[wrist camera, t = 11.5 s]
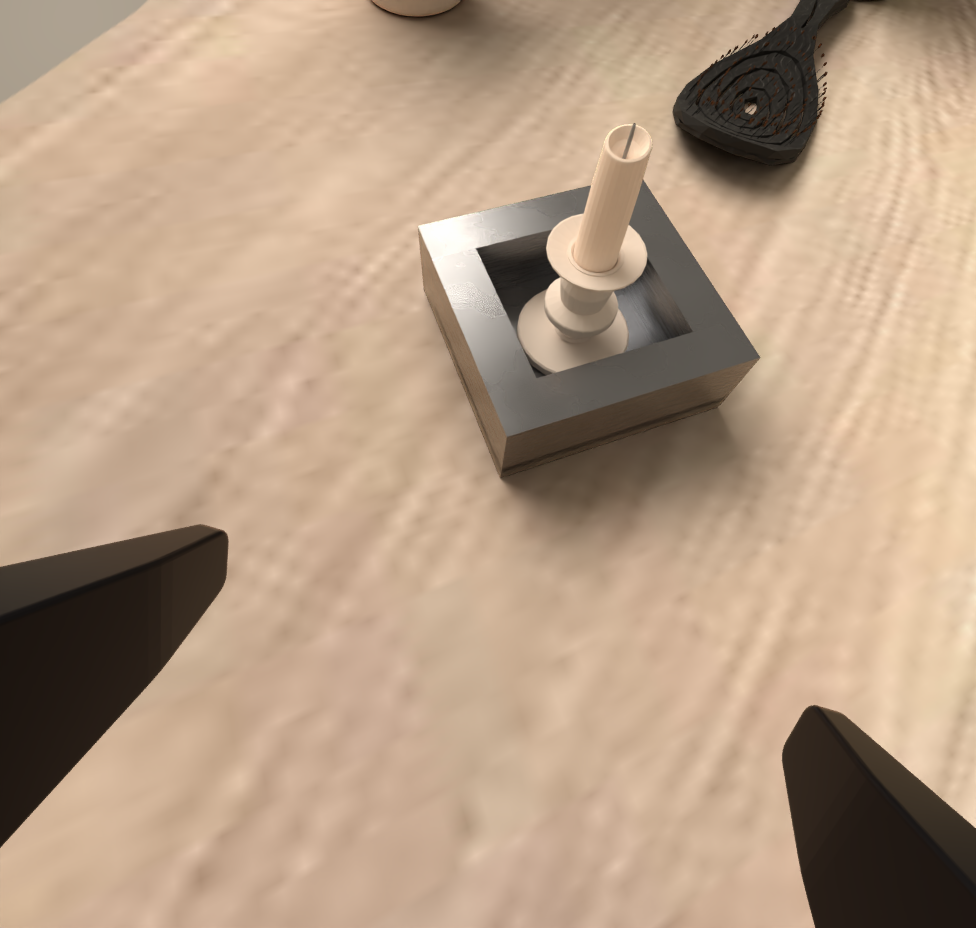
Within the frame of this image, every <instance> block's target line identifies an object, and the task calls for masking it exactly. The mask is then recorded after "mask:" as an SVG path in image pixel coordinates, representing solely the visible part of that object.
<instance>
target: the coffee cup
mask: <svg viewBox="0 0 976 928" xmlns="http://www.w3.org/2000/svg"><path fill="white" fill-rule="evenodd" d="M372 1H373V2H374V3H375V4H377V5H378V6H379V7H381V8H383V9H385V10H387V11H389V12H392V13H396V14H399V15H405V16H429V15H435V14H439V13H442V12H445V11H447V10H449V9H451V8H453V7H454V6H455V5H457V4H458V3H459V2H460V1H461V0H372Z"/></svg>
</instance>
